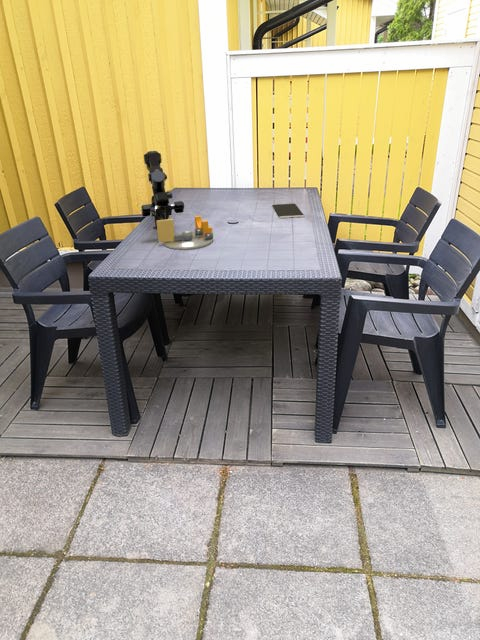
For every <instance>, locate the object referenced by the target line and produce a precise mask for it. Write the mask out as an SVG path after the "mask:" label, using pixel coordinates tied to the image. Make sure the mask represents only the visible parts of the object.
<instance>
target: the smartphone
mask: <svg viewBox="0 0 480 640" xmlns="http://www.w3.org/2000/svg"><path fill="white" fill-rule="evenodd" d="M271 207H272V209H273V211H274V213H275V212H276V213H275V214H276V216H277V218H278V219H279V220H280V219H281V220H282V219H284V220H285V219H298V218H300V219H302V218H305V214H304V213H303V212H302V210H301V209H300V207H298V206H297V204H296V203H280V204H279V203H277V204H272V206H271Z"/></svg>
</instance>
